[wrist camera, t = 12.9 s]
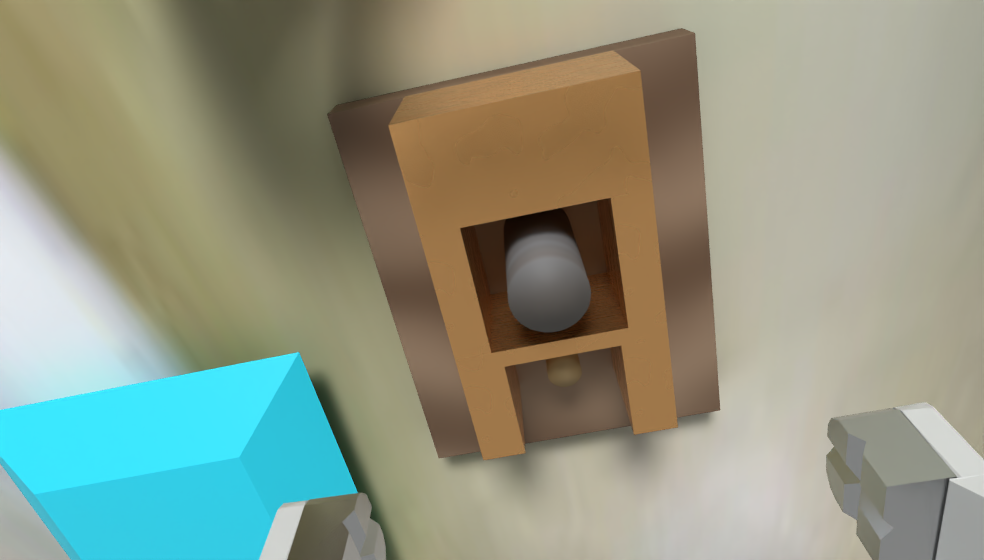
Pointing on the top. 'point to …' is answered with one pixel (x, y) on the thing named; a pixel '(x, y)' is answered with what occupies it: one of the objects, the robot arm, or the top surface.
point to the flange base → (597, 364)
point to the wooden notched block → (530, 189)
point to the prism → (175, 462)
